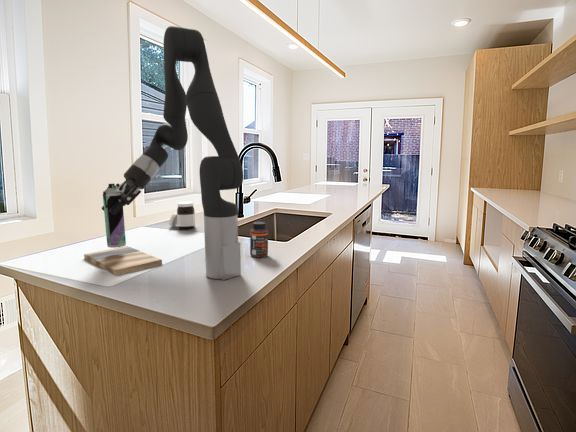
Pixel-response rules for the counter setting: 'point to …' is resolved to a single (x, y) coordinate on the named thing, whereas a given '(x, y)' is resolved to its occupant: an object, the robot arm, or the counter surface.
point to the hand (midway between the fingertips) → (108, 211)
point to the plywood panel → (122, 260)
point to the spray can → (113, 218)
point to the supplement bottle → (259, 240)
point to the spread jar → (184, 216)
